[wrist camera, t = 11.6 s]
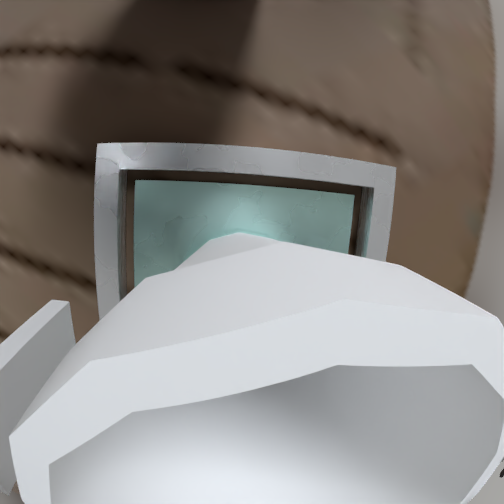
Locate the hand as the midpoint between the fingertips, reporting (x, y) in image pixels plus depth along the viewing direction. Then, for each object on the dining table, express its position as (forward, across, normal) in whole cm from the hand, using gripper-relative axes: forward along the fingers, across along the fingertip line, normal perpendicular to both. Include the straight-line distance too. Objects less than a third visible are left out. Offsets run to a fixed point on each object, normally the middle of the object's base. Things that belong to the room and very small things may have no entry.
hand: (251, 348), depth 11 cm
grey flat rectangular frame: (+6, 0, -8) cm, 10 cm away
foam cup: (+6, 0, 0) cm, 6 cm away
